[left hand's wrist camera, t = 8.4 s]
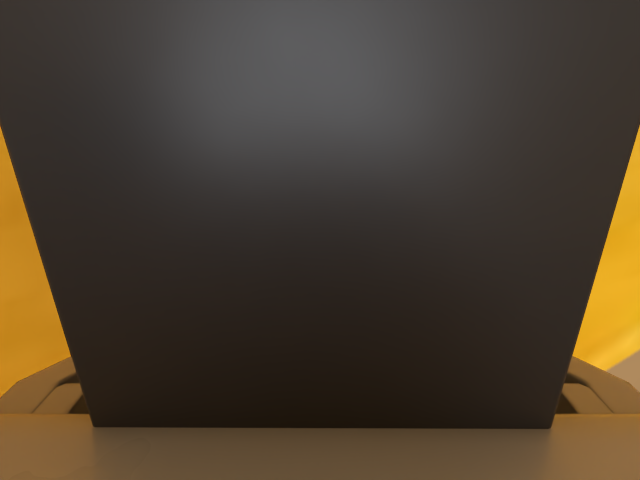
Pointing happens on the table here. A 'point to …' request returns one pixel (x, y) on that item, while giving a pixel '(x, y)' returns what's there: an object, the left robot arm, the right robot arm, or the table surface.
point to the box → (320, 201)
